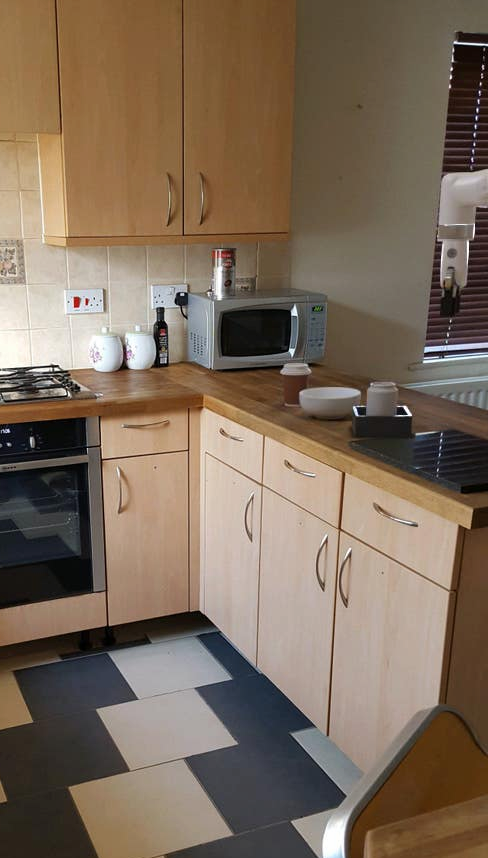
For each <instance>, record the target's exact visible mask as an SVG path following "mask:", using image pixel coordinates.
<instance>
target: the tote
mask: <svg viewBox="0 0 488 858" xmlns="http://www.w3.org/2000/svg"><path fill="white" fill-rule="evenodd" d="M366 407H367V405H361V406H360V405H359V406H352V413H351V426H350V427H351V431H352V433H353V437H354V438H355V439H411V438H412V428H413V415H412V413H411V412H410V410H409V409H408V407H407V406H406V405H397V415H390V416H366Z"/></svg>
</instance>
